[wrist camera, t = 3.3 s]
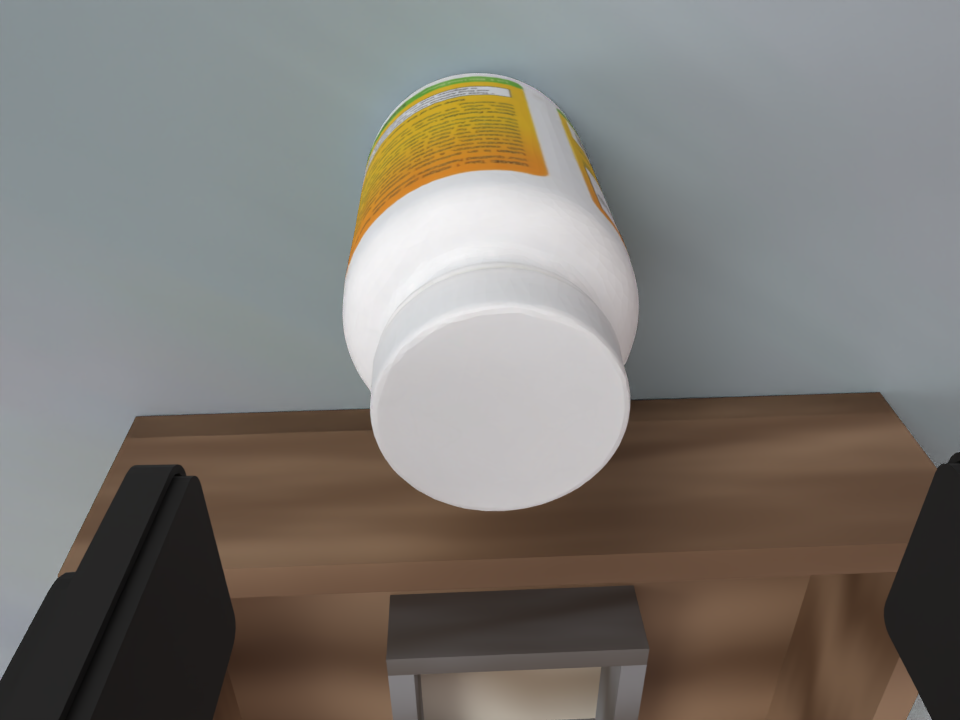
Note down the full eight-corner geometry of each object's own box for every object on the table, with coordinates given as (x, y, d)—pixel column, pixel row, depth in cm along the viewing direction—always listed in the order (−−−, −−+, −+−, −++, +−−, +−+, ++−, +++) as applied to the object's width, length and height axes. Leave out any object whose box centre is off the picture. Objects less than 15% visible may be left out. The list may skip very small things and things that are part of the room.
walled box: (135, 416, 24) (57, 575, 19) (879, 392, 25) (990, 540, 20) (256, 813, 36) (227, 973, 31) (751, 790, 37) (800, 943, 32)
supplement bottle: (328, 212, 21) (260, 469, 13) (438, 20, 18) (438, 187, 10) (506, 308, 23) (544, 586, 15) (628, 144, 20) (754, 369, 12)
